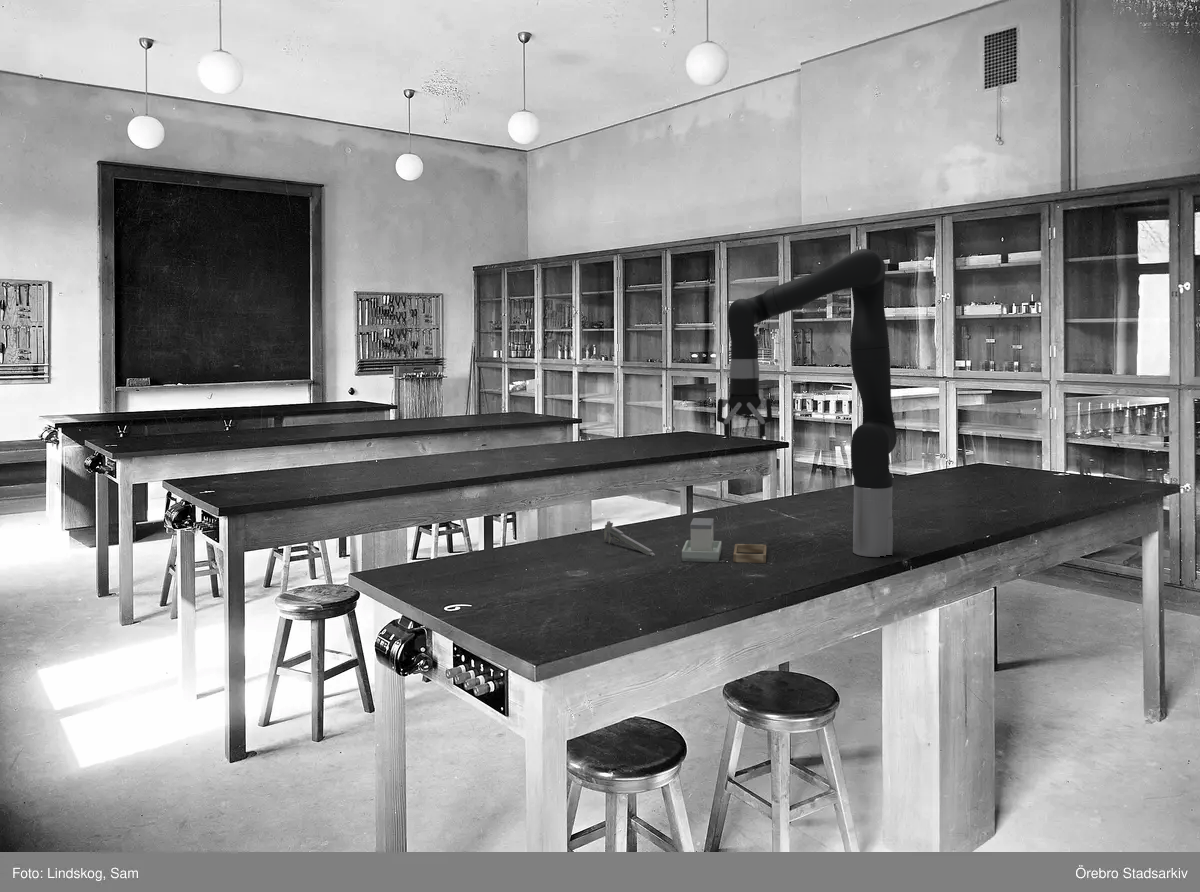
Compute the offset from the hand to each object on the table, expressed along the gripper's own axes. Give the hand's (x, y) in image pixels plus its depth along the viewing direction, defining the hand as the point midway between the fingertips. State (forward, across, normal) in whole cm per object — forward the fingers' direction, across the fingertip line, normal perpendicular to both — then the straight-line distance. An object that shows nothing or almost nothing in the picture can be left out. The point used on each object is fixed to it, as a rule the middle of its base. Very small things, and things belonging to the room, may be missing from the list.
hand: (744, 438), depth 241 cm
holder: (+28, -2, +16) cm, 32 cm away
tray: (+28, +10, +16) cm, 34 cm away
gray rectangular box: (+27, +10, +16) cm, 33 cm away
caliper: (+29, +30, +10) cm, 42 cm away
